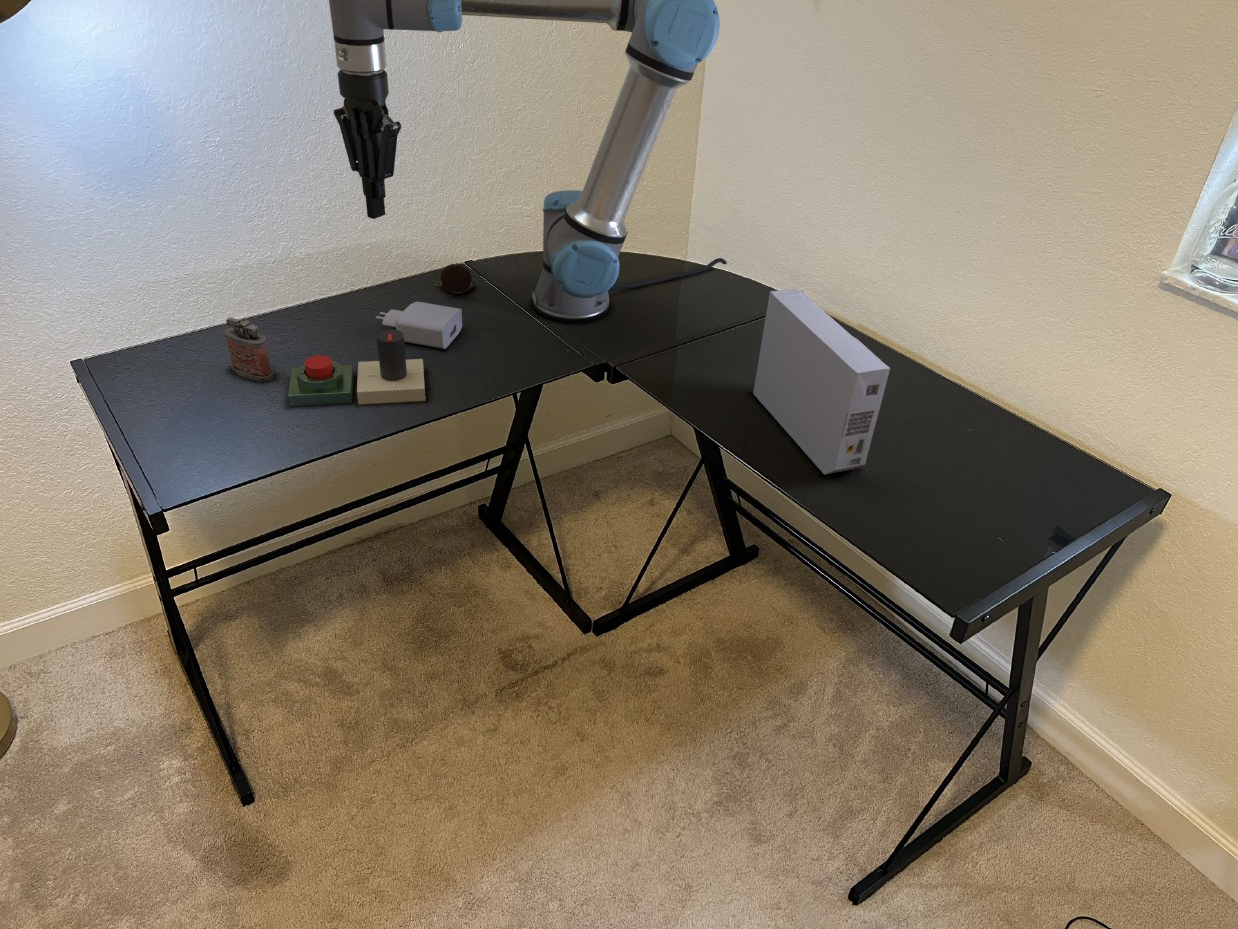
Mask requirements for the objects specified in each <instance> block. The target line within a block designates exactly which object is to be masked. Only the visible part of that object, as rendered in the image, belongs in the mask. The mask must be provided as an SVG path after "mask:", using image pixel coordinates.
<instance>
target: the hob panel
mask: <svg viewBox="0 0 1238 929" xmlns="http://www.w3.org/2000/svg"><path fill="white" fill-rule="evenodd" d="M406 368H407V375H406V377H405V378H403V379H401V380H397V381H388V380H385V379H383V378H382V377H381V375H380V365H379V360H370V361H369V360H368V361H367V360H366V361H358V362H357V381H356V382H357V383H356V395H357V396H356V397H357V405H374V404H375V405H376V404H391V403H410V402H412V403H413V402H426V386H425V385H426V384H425V383H426V382H425V368H424V358H413V359H412V358H411V359H406Z"/></svg>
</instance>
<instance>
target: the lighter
mask: <svg viewBox="0 0 1238 929" xmlns="http://www.w3.org/2000/svg"><path fill="white" fill-rule="evenodd" d="M225 322H226V326H227V327H229V328H226V329H225V330H224V331H223V333H224V337H225V338H226V341H227V346H228V351H229V355H230V356H229V357H230V360H231V370H232V372H233V373H235V374H237V375H239V376H241V377H243V378H246V379H248V380H249V379H251V380H252V381H253V380H254V381H257V382H258V381H259V382H268V381H270V380H272V379H273V378H274V372H273V370H272V368H271V363H270V357H269V352H268V346H267V343H268V340H267V337H266V336H265V335H263V334H262V333H259V328H258V325H255V324H252V323H251V321H249V320H247V319H245V320H244V321H242V320H240V319H237V318H235V317H231V316H230V317H227V318H226V319H225Z"/></svg>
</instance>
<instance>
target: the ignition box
mask: <svg viewBox="0 0 1238 929" xmlns="http://www.w3.org/2000/svg"><path fill="white" fill-rule="evenodd" d="M332 364H333V374H332V375H331V376H328V377H325V378H315V379H314V378H310V377H308V376H307V375H306V370H305V363H303V364H301V365H300V366H299V367H292V368H291V372H290V380H289V385H288V391H287V399H288V406H289V407H290V408H291V407H308V406H327V405H328V406H329V405H343V404H344V405H345V404H353V395H354V380H355V377H354V376H355V375H354V366H353V364H347V365H346V364H345V365H344V364H343V365H341V364H340V363H339V362H337V361H334V360H332Z"/></svg>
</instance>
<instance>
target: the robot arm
mask: <svg viewBox="0 0 1238 929" xmlns="http://www.w3.org/2000/svg"><path fill="white" fill-rule="evenodd" d="M328 3H329V4H328V5H329V13H330V19H331V20H330V21H331V27H332V34H333V36H332V37H333V44H334V53H335V60H336V67H337V68H338V69H339V70H338V72H337V82H338V90H339V94H340V96H341V97H342V98H343V105H342V106H341V107H340V108H339V107H338V108H336V109H333V116H334V117H335V119H336V122H337V124H338V125H339V129H340V134H341V135H342V140H343V144H344V148H345V151H346V156H347V158H348V162H349V166H350V170H351V171H352V172H357V173H358V176H359V177H360V178H361V185H362V193H363V196H364V197H365V205H366V206H365V207H366V216H367V218H368V219H371V220H375V219H378V218H381V217H384V216H386V206H385V199H386V196H387V195H386V194H387V193H386V184H385V183H386V182H385V180H386V179H389V178H392V177H394V174H395V173H394V172H395V165H396V154H397V144H398V136H399V134H400V131H401V129H402V124H401V122H400V121H394V120H393V119H392V118H391V117H390V115H389V113H390V112H389V108H388V106H387V103H386V100H387V97H388V96H389V93H390V91H389V79H388V78H389V77H388V72H387V71H386V70H385V69H386V68H387V66H388V62H387V55H386V54H387V53H386V43H385V33H384V30H389V31H394V30H395V31H396V30H397V31H416V32H417V31H421V32H436V33H443V32H457V31H459V30H460V29H461V28H462V26H463V16H472V17H473V16H474V17H490V18H508V19H509V18H510V19H522V20H523V19H524V20H544V21H557V22H558V21H560V22H574V23H575V22H577V23H591V24H592V23H595V24H607V25H608V26H609V27H610V28H611V30H612V31H619V32H628V33H631V34H630V37H629V40H628V43H627V45H626V47H625V51H624V55H625V57H626V59H627V62H628V69H627V72H626V75H625V77H624V80H623V83H622V85H621V88H620V90H619V93H618V95H617V99H616V101H615V103H614V106H613V109H612V112H611V114H610V117H609V120H608V123H607V125H606V127H605V131H604V133H603V135H602V138H601V141H600V143H599V145H598V149H597V152H596V153H595V157H594V159H593V162H592V165H591V167H590V170H589V173H588V175H587V178H586V180H585V183H584V186H583V188H582V190H580V189H579V190H578V189H576V190H575V189H574V190H573V189H571V190H569V189H567V190H559V191H557V190H556V191H554V192H550V193H548V194H547V195H546V196H545V197H544V199H543V207H542V210H541V211H542V212H543V222H542V223H543V226H542V228H543V234H542V270H541V273H540V275H539V277H538V282H537V284H536V287H535V289H534V290H532V295H531V298H532V300H533V308H534V309H535V311H536V312H537V313H538V314H540V315H542V316H543V317H545V318H547V319H550V320H553V321H557V322H562V323H563V322H564V323H585V322H590V321H594V320H596V319H599V318H601V317H603V316H604V315H606V313H608V311H609V309H610V295H609V291H615V290H622V289H632V288H633V289H634V288H639V287H645V286H649V285H653V284H658V283H662V282H665V281H671V280H675V279H679V278H682V277H687V276H691V275H696V274H699V273H703V272H705V271H708V270H709V269H711V268H712V267H714V266H715V265H717V264H718V263H719V264H722V265H728V262H727V261H726V259H724V258H722V257H718V258H715V259H713V260H712V261H710V262H709V263H708V264H706V265H704V266H702V267H698V268H694V269H691V270H686V271H682V272H677V273H673V274H669V275H665V276H661V277H657V278H652V279H648V280H642V281H638V282H632V283H631V282H630V283H620V284H615V283H616V282H617V279H618V277H619V274H620V260H619V255H620V253H621V251H622V248H623V245H624V243H625V241H626V238H627V236H628V234H629V229H628V227H627V225H626V223H625V218H626V217H627V214H628V212H629V208H630V206H631V204H632V201H633V199H634V196H635V194H636V191H637V189H638V186H639V184H640V182H641V179H642V177H643V174H644V172H645V170H646V167H647V165H648V163H649V159H650V158H651V156H652V152H653V150H654V147H655V145H656V143H657V140H658V138H659V135H660V133H661V131H662V128H663V126H664V123H665V121H666V118H667V116H668V113H669V110H670V108H671V106H672V104H673V101H674V99H675V96H676V93H677V91H678V89H679V88H680V87H683V86H685V85H688V84H689V83H690V82H691V81H692V79H693V77H694V74H695V72H696V70H697V67H698V65H699V64H700V63H702V62H703V61H704V60H705V59H707V58H708V56H709V55H710V54H711V53H712V51H713V50H714V49H715V46H716V44H717V42H718V39H719V35H720V27H721V25H720V24H721V23H720V21H721V20H720V15H719V14H720V13H719V9H718V7H717V4H716V3H715V0H328Z"/></svg>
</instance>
